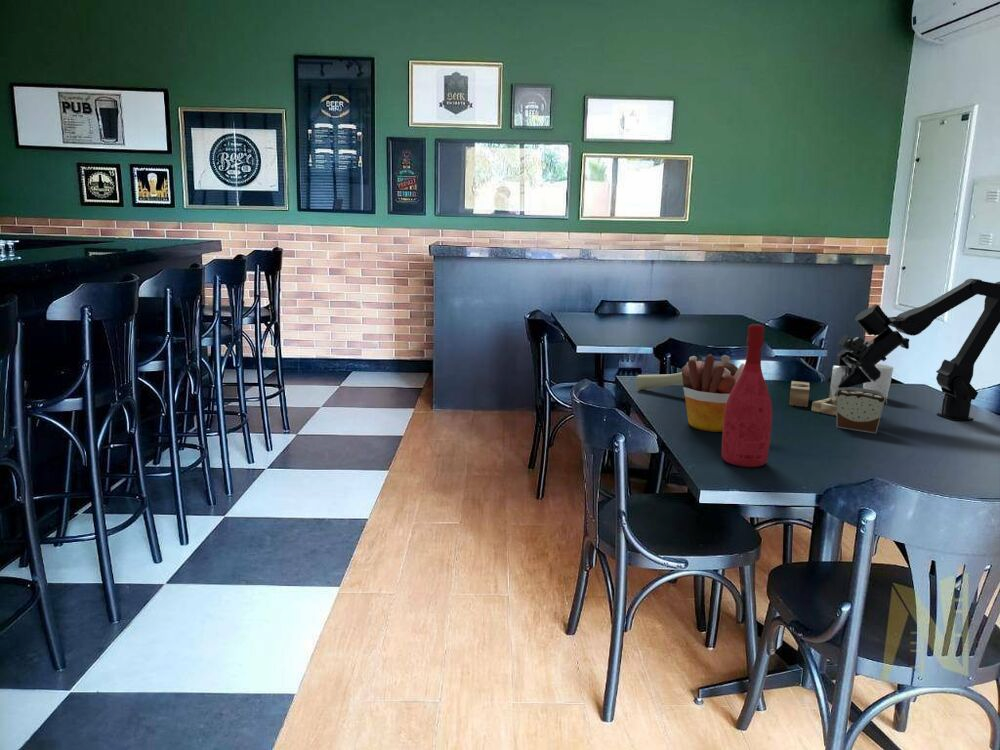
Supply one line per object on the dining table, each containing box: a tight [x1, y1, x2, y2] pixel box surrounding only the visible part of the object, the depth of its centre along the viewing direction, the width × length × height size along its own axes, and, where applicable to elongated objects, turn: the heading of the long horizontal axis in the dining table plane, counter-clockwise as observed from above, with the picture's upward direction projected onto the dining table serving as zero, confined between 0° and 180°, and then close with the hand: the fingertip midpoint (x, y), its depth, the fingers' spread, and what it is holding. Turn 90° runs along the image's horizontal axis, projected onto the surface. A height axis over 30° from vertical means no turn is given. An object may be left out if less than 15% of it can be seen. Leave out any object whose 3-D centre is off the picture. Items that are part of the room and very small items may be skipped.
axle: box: [828, 364, 849, 405], centre depth 206 cm, size 4×4×13 cm
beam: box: [788, 380, 811, 408], centre depth 218 cm, size 12×5×5 cm, turn 158°
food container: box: [834, 387, 888, 434], centre depth 189 cm, size 12×6×10 cm, turn 56°
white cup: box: [862, 363, 894, 398], centre depth 226 cm, size 8×8×10 cm
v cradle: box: [811, 397, 837, 417], centre depth 207 cm, size 8×14×2 cm, turn 174°
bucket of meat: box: [681, 354, 745, 433], centre depth 185 cm, size 20×16×20 cm
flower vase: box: [635, 371, 683, 391], centre depth 218 cm, size 12×12×35 cm
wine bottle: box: [721, 323, 773, 468], centre depth 156 cm, size 10×10×30 cm
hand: (833, 384), depth 206 cm, fingers open, 9 cm apart
